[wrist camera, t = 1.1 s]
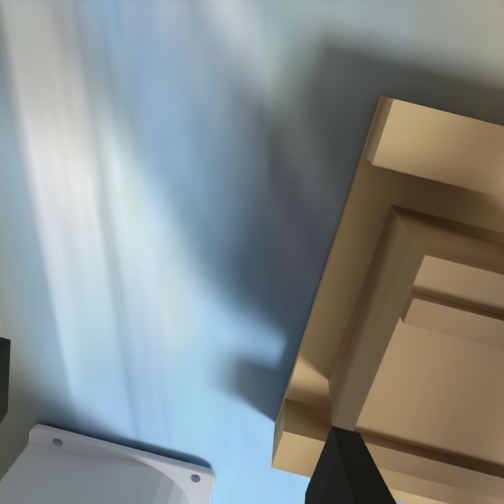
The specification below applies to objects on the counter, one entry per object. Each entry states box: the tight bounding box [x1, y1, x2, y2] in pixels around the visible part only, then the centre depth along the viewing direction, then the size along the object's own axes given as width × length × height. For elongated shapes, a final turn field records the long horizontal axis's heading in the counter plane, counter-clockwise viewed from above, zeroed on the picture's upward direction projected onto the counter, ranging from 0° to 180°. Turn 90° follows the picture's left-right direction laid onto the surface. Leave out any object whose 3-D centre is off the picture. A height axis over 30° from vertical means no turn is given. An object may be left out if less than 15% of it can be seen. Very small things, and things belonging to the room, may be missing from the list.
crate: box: [328, 205, 504, 504], centre depth 16 cm, size 6×8×5 cm
